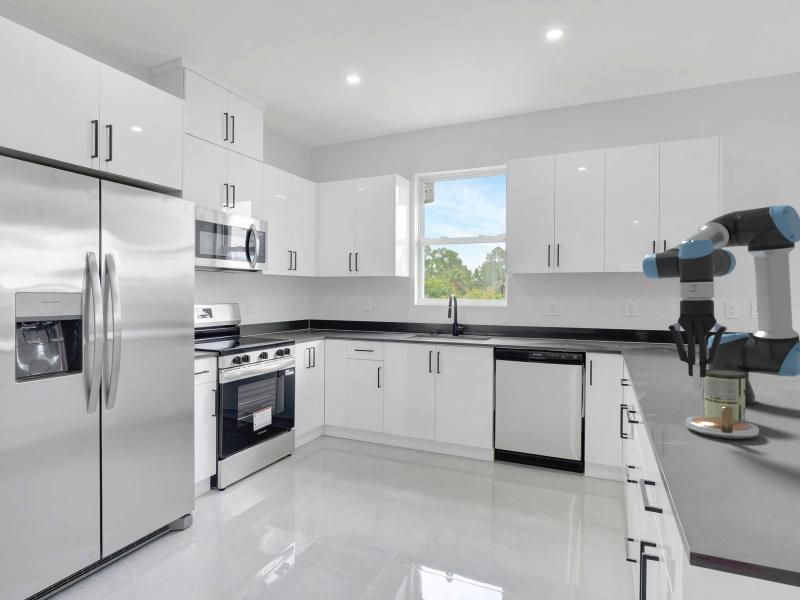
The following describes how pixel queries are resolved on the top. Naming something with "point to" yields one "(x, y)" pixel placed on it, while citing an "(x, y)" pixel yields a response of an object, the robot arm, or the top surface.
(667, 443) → the top surface
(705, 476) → the top surface
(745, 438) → the turntable base
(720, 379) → the coffee can
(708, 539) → the top surface
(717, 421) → the turntable
